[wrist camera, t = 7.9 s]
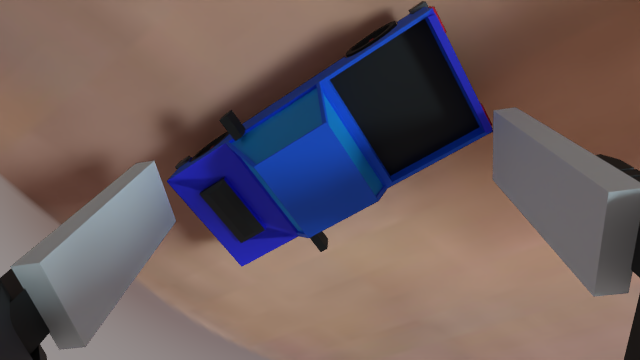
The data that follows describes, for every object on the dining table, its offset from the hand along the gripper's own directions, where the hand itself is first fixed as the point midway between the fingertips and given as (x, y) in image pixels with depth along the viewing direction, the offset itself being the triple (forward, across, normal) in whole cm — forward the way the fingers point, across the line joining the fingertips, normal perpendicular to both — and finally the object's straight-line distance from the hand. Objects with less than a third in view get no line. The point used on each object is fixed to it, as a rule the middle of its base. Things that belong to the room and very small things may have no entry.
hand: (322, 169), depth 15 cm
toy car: (+3, 0, 0) cm, 3 cm away
